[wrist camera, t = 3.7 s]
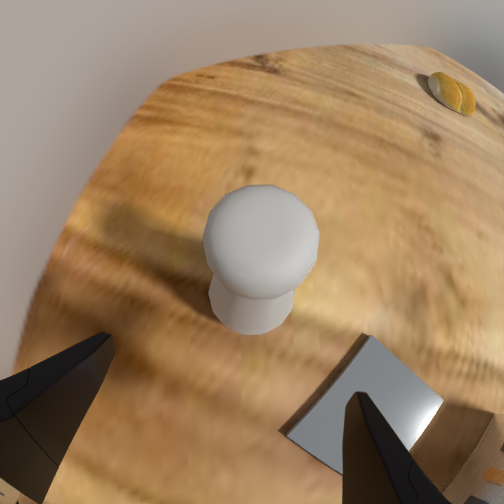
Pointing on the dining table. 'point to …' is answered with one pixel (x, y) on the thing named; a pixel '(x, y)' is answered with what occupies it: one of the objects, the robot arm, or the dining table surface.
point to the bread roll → (452, 93)
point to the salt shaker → (258, 256)
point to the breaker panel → (482, 470)
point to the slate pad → (382, 394)
